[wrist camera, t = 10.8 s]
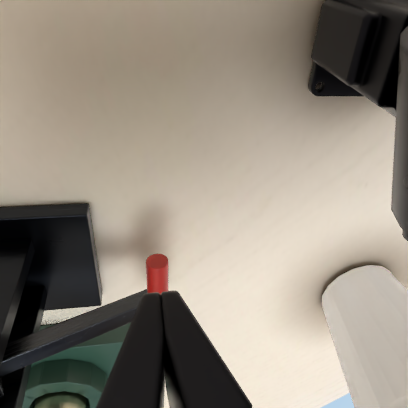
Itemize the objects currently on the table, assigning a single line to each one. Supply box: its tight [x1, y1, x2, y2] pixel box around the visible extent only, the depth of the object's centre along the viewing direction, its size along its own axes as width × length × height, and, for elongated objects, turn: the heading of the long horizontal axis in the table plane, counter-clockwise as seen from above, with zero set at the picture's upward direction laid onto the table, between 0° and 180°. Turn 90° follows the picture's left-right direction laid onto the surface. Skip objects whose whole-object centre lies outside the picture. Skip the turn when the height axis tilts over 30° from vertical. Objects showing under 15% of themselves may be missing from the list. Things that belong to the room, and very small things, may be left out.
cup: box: [322, 265, 408, 408], centre depth 26 cm, size 10×10×13 cm
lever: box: [0, 254, 168, 398], centre depth 20 cm, size 12×6×2 cm, turn 87°
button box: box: [22, 323, 131, 408], centre depth 29 cm, size 12×9×4 cm
